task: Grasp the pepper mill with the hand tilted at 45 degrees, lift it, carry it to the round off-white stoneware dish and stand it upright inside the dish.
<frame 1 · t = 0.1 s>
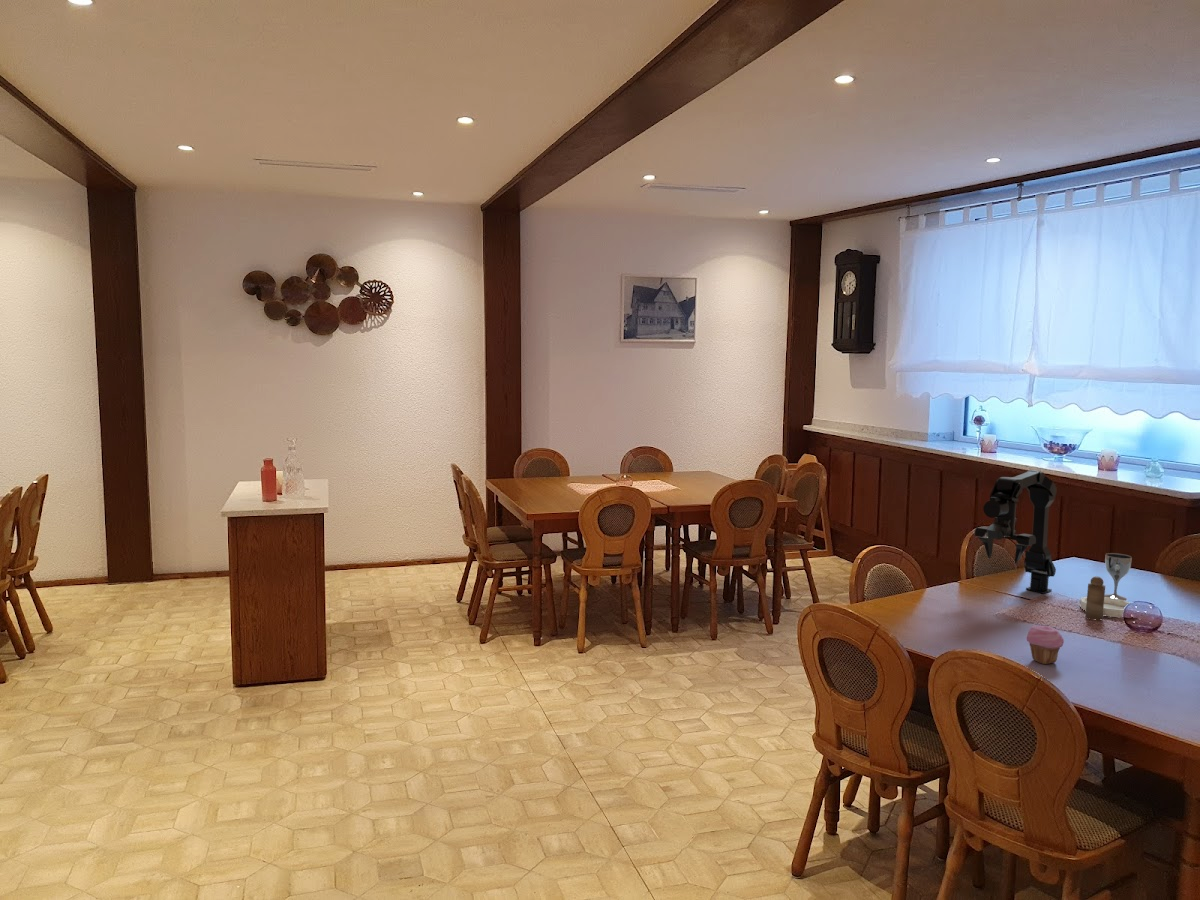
hand: (1002, 560, 294), 15 cm above the table, tool pointing down, fingers open, 9 cm apart
pepper mill: (1093, 618, 280), on the table
cupcake: (1043, 662, 238), on the table
wine glass: (1114, 598, 306), on the table
dish: (1107, 611, 289), on the table
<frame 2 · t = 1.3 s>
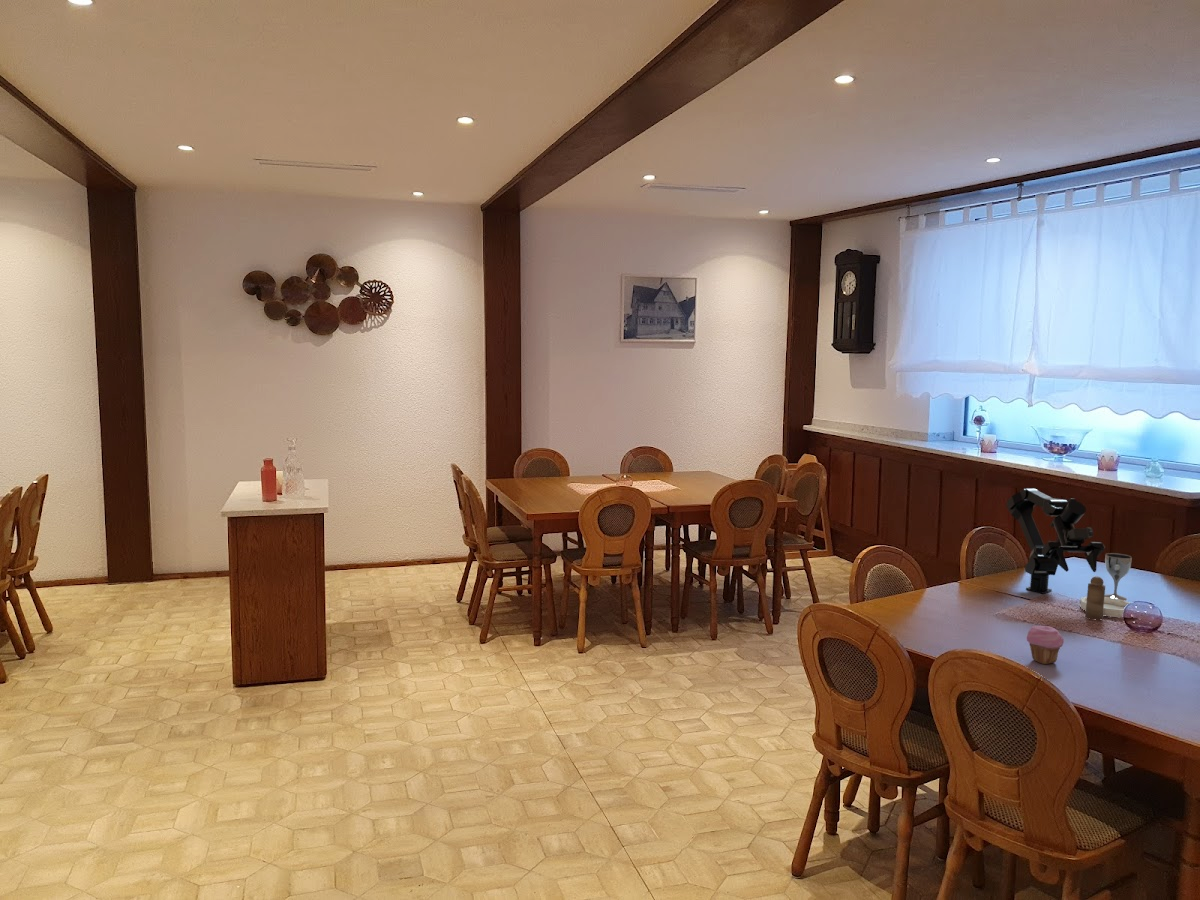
hand: (1081, 571, 287), 13 cm above the table, tool tilted 45°, fingers open, 9 cm apart
nothing on the table moved.
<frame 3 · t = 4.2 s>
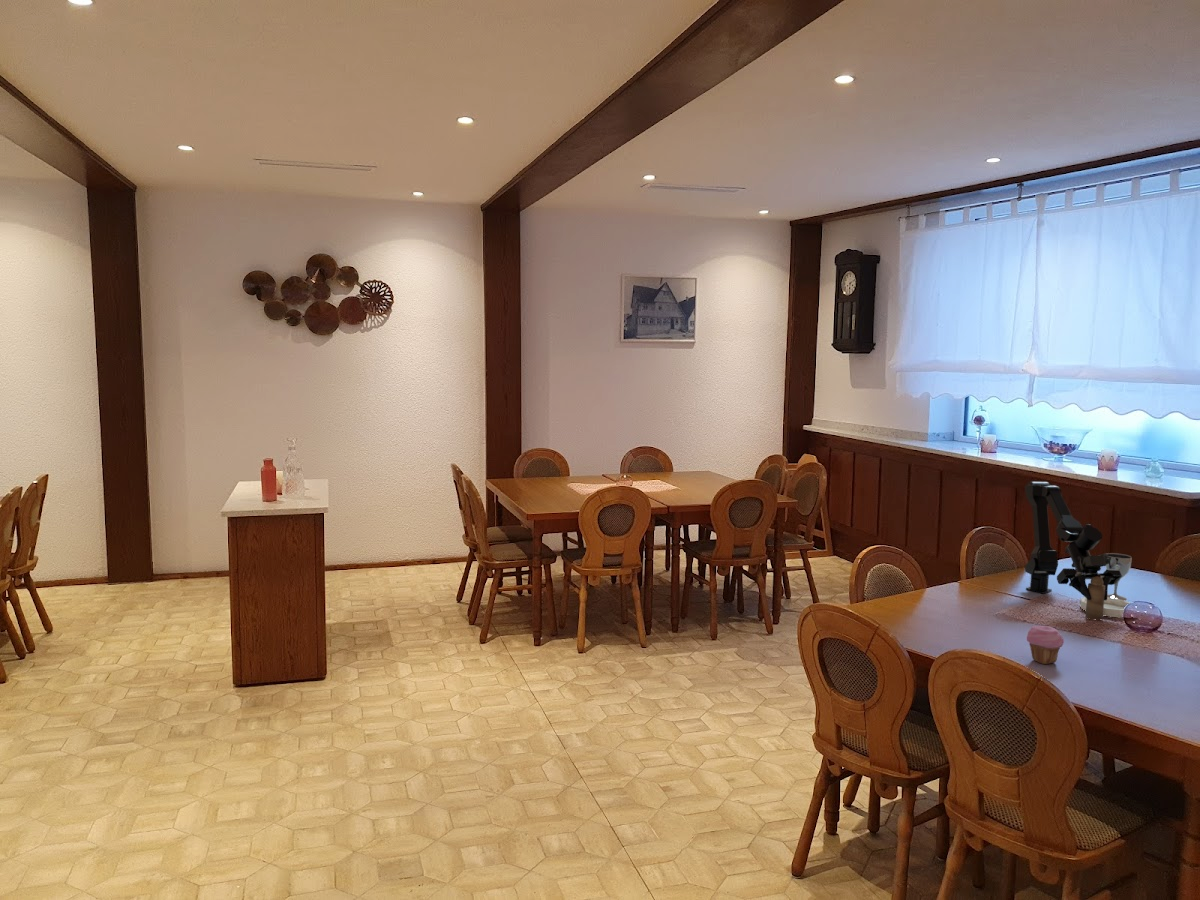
hand: (1098, 599, 278), 7 cm above the table, tool tilted 45°, fingers closed on pepper mill, 5 cm apart
pepper mill: (1093, 618, 280), on the table, touching gripper
everything else where it was.
when the fingers open (9 cm above the table, at t = 7.6 s): pepper mill drops 1 cm, resting on dish.
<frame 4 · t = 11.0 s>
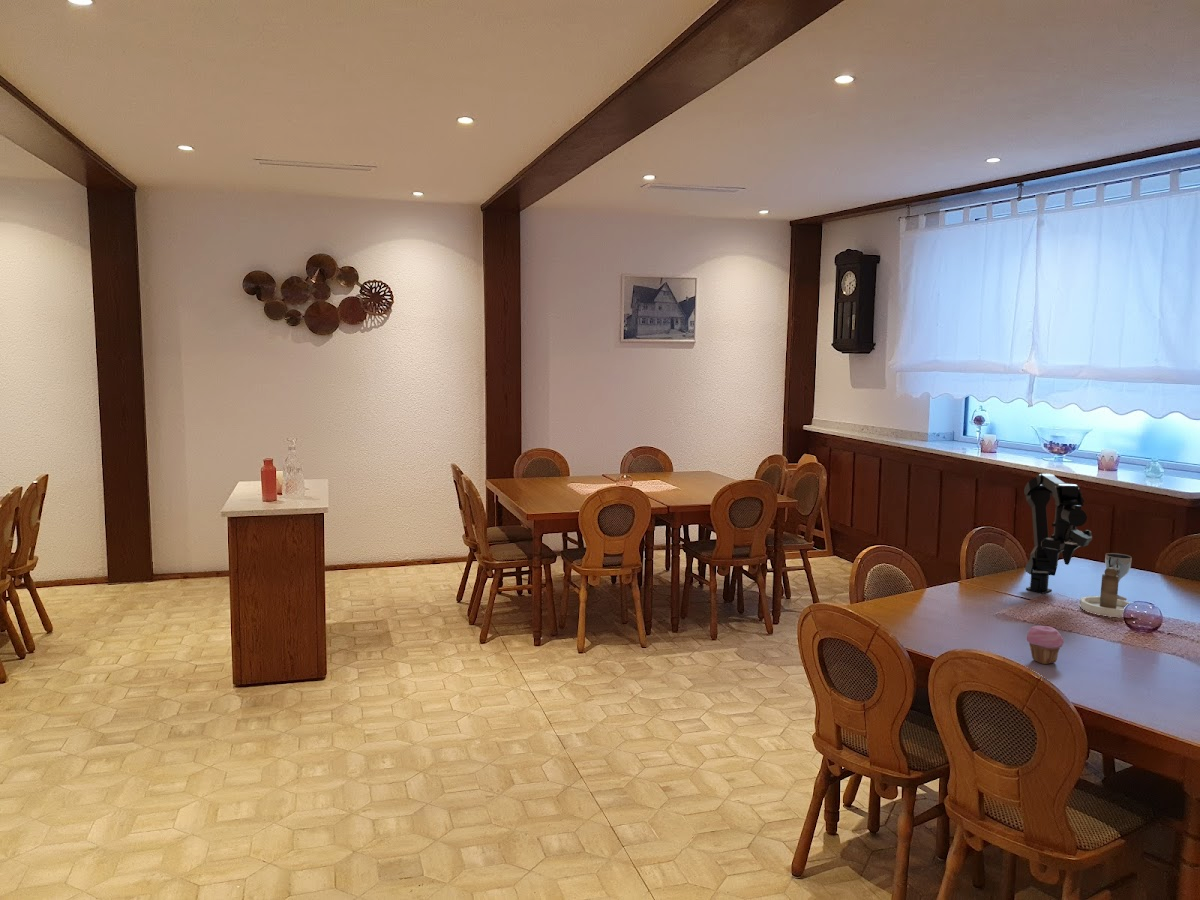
hand: (1060, 566, 295), 13 cm above the table, tool pointing down, fingers open, 9 cm apart
pepper mill: (1107, 608, 289), point 1 cm above the table, touching dish
everything else where it was.
at the end: pepper mill 0.1 cm from the dish (horizontally); pepper mill tilted 0°; the gripper is holding nothing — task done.
